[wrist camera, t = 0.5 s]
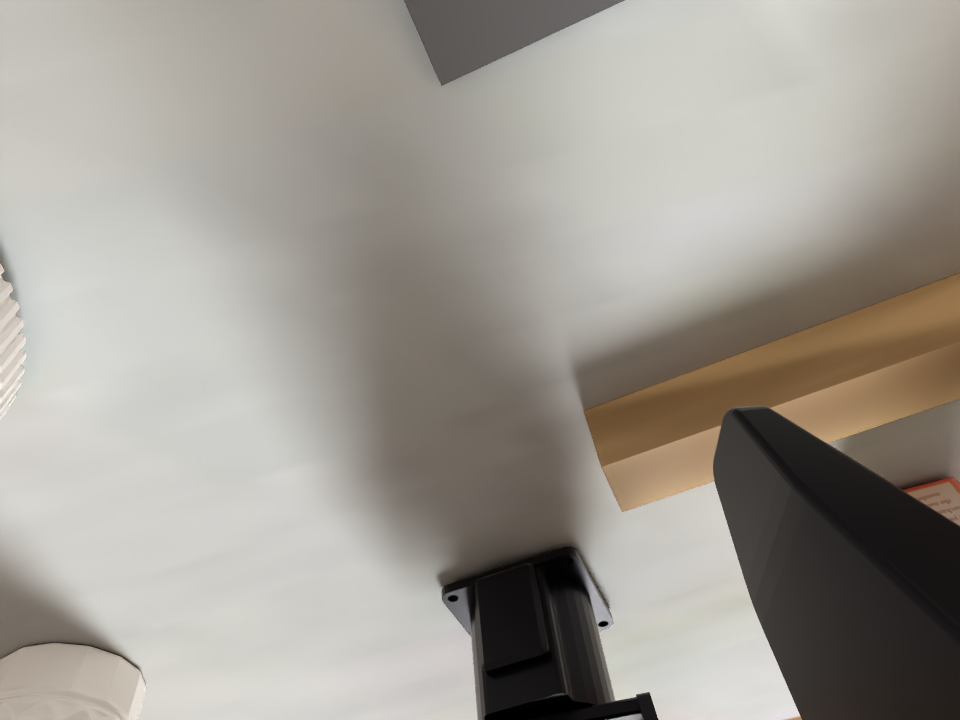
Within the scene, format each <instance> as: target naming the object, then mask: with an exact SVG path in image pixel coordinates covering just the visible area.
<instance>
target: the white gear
mask: <svg viewBox="0 0 960 720" xmlns="http://www.w3.org/2000/svg"><path fill="white" fill-rule="evenodd" d="M3 272H4V269H3V267H2V265H1V264H0V420H1V418H2V417H3V416H4V414H5V413H6V412H7V410H8V409H9V407H10V405H11V403H12V402H13V401H14V399H15V397H16V395H17V394H15V393H16V391H17V390H18V389H19V387H20V386H21V383H22V381H20V380H19V379H20V377H21V376H22V375H23V373H24V371H25V367H24V366H22V365H21V364H22V363H23V361H24V360H25V359H26V352H25V351H23V350H21V348H22V347H23V345H24V344H25V343H26V336H24V335H22V334H20V332H19V331H20V330H21V329H22V328H23V326H24V323H23V319H21V318H19V317H17V316H16V312H17V311H18V310H19V309H20V307H19V304H18V301H16V300H12V299H11V297H10V293H11V292H12V291H13V288H12V286H11V283H10V282H6V281H4V280H3V278H2V276H1V274H2V273H3Z"/></svg>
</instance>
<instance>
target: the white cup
mask: <svg viewBox="0 0 960 720" xmlns="http://www.w3.org/2000/svg"><path fill="white" fill-rule="evenodd" d="M146 690H147V688H146V685H145V682H144V679H143V677H142V674H141V672H140V671H139V670H138V669H137V668H135V667H134V666H133V665H132V664H130V663H129V662H127V661H126V660H125V659H123V658H122V657H120V656H118V655H115V654H112V653H109V652H106V651H103V650H100V649H97V648H94V647H91V646H84V645H74V644H63V643H49V644H42V645H35V646H29V647H23V648H21V649H19V650H17V651H15V652H13V653H11V654H10V655H8V656H6V657H4V658H2V659H1V660H0V720H138V719H139V716H140V712H141V708H142V705H143V701H144V698H145V694H146Z"/></svg>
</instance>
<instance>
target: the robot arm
mask: <svg viewBox="0 0 960 720" xmlns="http://www.w3.org/2000/svg"><path fill="white" fill-rule="evenodd" d="M713 475H714V481H715V485H716V488H717V491H718V494H719V498H720V501H721V504H722V507H723V511H724V514H725V517H726V520H727V524H728V527H729V530H730V533H731V537H732V540H733V543H734V546H735V550H736V553H737V556H738V560H739V563H740V566H741V569H742V573H743V576H744V579H745V582H746V585H747V588H748V591H749V594H750V597H751V600H752V603H753V606H754V608H755V611H756V613H757V616H758V618H759V621H760V623H761V626H762V628H763V630H764V633H765V635H766V637H767V640H768V642H769V644H770V647H771V649H772V651H773V653H774V656H775V658H776V660H777V663H778V665H779V667H780V670H781V672H782V674H783V677H784V679H785V681H786V683H787V686H788V688H789V690H790V693H791V695H792V697H793V700H794V702H795V704H796V707H797V709H798V711H799V713H800V716H801V718H802V720H960V525H958V524H956V523H955V522H953V521H952V520H950V519H948V518H947V517H945V516H944V515H942V514H940V513H939V512H937V511H935V510H934V509H932V508H931V507H929V506H927V505H926V504H924V503H923V502H921V501H919V500H918V499H916V498H914V497H913V496H911V495H910V494H908V493H906V492H905V491H903V490H902V489H900V488H898V487H897V486H895V485H893V484H892V483H890V482H889V481H887V480H885V479H884V478H882V477H881V476H879V475H877V474H876V473H874V472H872V471H871V470H869V469H868V468H866V467H864V466H863V465H861V464H860V463H858V462H856V461H855V460H853V459H851V458H850V457H848V456H847V455H845V454H843V453H842V452H840V451H839V450H837V449H835V448H834V447H832V446H830V445H829V444H827V443H826V442H824V441H822V440H821V439H819V438H818V437H816V436H814V435H813V434H811V433H809V432H808V431H806V430H805V429H803V428H801V427H800V426H798V425H797V424H795V423H793V422H792V421H790V420H788V419H787V418H785V417H784V416H782V415H780V414H779V413H777V412H776V411H774V410H772V409H770V408H768V407H766V406H760V405H757V406H744V407H733V408H731V409H729V410H727V411H726V413H725V415H724V417H723V420H722V424H721V429H720V433H719V438H718V442H717V446H716V451H715V455H714V460H713ZM442 601H443V602H444V604H445V605H446V606H447V607H448V609H449V610H450V611H451V612H452V614H453V615H454V616H455V617H456V619H457V620H458V621H459V622H460V623H461V625H462V626H463V627H464V628H465V630H466V631H467V632H468V633H469V635H470V636H471V637H472V650H473V664H474V677H475V690H476V703H477V716H478V720H658V718H657V715H656V711H655V708H654V705H653V702H652V699H651V696H650V693H649V692H647V693H642V694H637V695H636V697H635V698H629V699H624V700H619V701H615V698H614V694H613V690H612V685H611V681H610V677H609V673H608V669H607V665H606V661H605V656H604V652H603V648H602V644H601V640H600V636H599V632H598V631H602V630H605V629H608V628H610V627H611V626H612V625H613V619H612V615H611V613H610V611H609V609H608V607H607V605H606V603H605V601H604V600H603V598H602V596H601V594H600V592H599V590H598V589H597V587H596V585H595V583H594V581H593V579H592V577H591V576H590V574H589V572H588V570H587V568H586V566H585V564H584V563H583V561H582V559H581V557H580V555H579V553H578V552H577V550H576V549H575V548H573V547H563V548H560V549H557V550H554V551H551V552H548V553H544V554H541V555H538V556H535V557H532V558H529V559H526V560H523V561H520V562H517V563H514V564H511V565H508V566H505V567H502V568H499V569H496V570H492V571H489V572H486V573H483V574H480V575H477V576H474V577H471V578H468V579H465V580H462V581H459V582H456V583H453V584H450V585H447V586H445V587H444V588H443V589H442Z"/></svg>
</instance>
